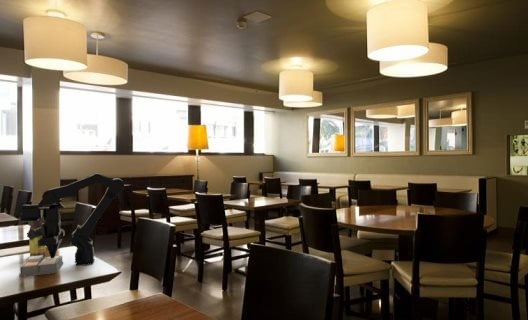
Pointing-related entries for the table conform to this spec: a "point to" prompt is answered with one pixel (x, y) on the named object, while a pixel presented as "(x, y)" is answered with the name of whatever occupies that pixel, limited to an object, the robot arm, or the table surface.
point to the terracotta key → (31, 264)
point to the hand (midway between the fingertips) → (52, 257)
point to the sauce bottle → (36, 241)
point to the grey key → (35, 258)
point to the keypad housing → (41, 268)
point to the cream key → (49, 261)
